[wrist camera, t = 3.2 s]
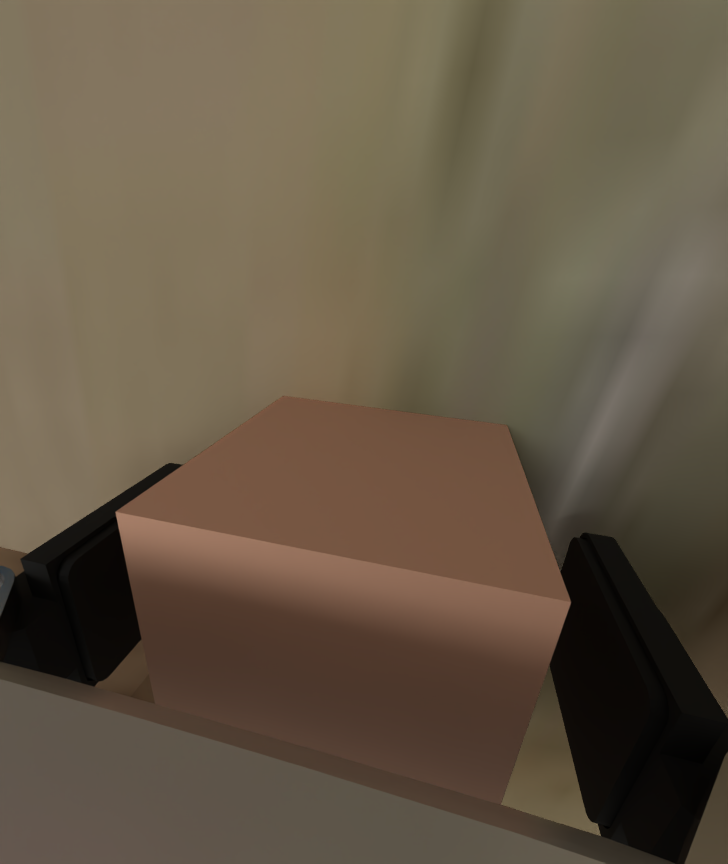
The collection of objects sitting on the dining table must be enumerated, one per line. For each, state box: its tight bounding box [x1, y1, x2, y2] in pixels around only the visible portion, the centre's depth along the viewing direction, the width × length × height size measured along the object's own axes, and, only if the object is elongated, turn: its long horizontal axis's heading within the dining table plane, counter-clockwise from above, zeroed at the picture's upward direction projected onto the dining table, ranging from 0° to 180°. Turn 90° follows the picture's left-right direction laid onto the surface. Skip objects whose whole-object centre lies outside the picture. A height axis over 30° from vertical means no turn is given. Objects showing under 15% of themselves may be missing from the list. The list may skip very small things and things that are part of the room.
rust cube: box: [116, 396, 571, 805], centre depth 9 cm, size 6×6×6 cm
